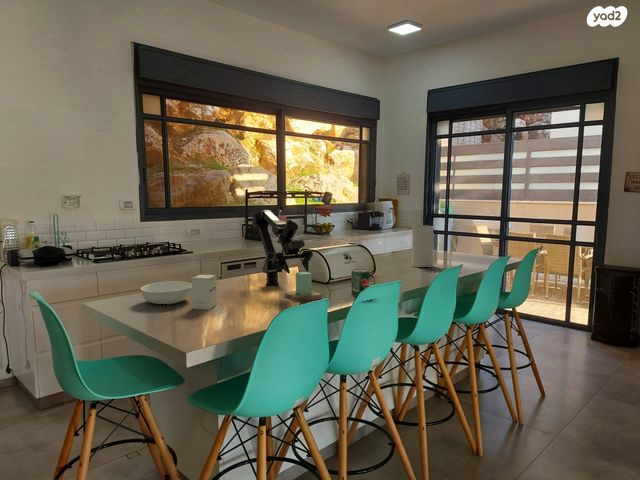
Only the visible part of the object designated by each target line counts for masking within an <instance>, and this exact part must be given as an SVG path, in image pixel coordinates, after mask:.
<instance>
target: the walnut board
mask: <svg viewBox="0 0 640 480" xmlns="http://www.w3.org/2000/svg"><path fill="white" fill-rule="evenodd" d="M284 297H285V298H286V299H289V300H291V301H294V302H296V303H300V302H301V303H302V302H308V300H309V301H314V300H315V301H316V300H322V299H323V294H322V293H319V292H316V291H313V290H312V294H307V295H300V294H297V293H296V290H292V291H285V292H284Z"/></svg>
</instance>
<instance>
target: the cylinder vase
mask: <svg viewBox="0 0 640 480" xmlns="http://www.w3.org/2000/svg"><path fill="white" fill-rule="evenodd" d="M411 230H412V232H411V233H412V235H411V236H412V237H411V241H412V242H411V266H412V267H413V266H414V267H413V268H418V267H429V268H433V262H434V261H433V257H434V256H433V255H434V252H433V251H434V225H421V224H419V225H412V229H411Z"/></svg>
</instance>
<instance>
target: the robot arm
mask: <svg viewBox="0 0 640 480" xmlns="http://www.w3.org/2000/svg"><path fill="white" fill-rule="evenodd" d="M251 224H252V226H253V228H254V230H256V231H257V232H258V233H259V237H260V241H261V242H262V243H261V244H262V246H263V250H264V253H265V258H264V263H263V266H262V268H261V269H262V273H264V274H266V282H265V286H268V287H269V286H280V282H279V273H282V272H283V271H284V272H286V273H287V274H291V272H290V271H291V270H290V267H289V266H288V263H287V260H300V261H301V264H302V266H303V268H304V270H305V272H308V273H309V270H310V268H309V262H310V261H311V260H312V259H311V258H312V257H313V255H314V253H313V251H312V250H311V249H307V250H306V249H305V250H302V253H300V251H301V250H300V249H302V248H303V247H305V245H306V243H305V241H304V239H302V238H300V239H298V240H293V238H294V237H295V235H296V234H297V232H298V229H299V225H298V224H297V223H296V222H295V221H293V220H292V219H287V221H283V220H280V219H279V218H278V216H276V215H274V213H273V211H272V210H269V209H262V210H260V212H258V213H256V214H254V215H253V216H252V217H251ZM269 226H270V227H271V231H272V233H273V235H274V236H278V239H277V244H280V247H281V248H282V249H281V252H276V251H275V250H276V249H275V247H274V244H273V240H272V237H271V234H270V232H269Z"/></svg>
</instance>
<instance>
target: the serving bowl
mask: <svg viewBox="0 0 640 480" xmlns="http://www.w3.org/2000/svg"><path fill="white" fill-rule="evenodd" d="M140 293H141V296H142V298H143V299H144V300H146V301H147V302H149V303H152V304H156V305H157V304H158V305H161V304H164V305H165V304H167V305H174V304H177V303H181V302H183V301H186V300H187V299H188V298H189V297H190V296H192V282H189V281H181V280H180V281H179V280H177V281H176V280H175V281H173V280H172V281H159V282H153V283H149V284H145V285H143V286H141V287H140Z"/></svg>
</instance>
